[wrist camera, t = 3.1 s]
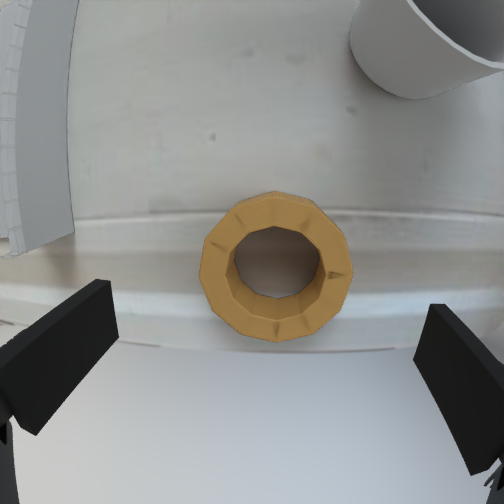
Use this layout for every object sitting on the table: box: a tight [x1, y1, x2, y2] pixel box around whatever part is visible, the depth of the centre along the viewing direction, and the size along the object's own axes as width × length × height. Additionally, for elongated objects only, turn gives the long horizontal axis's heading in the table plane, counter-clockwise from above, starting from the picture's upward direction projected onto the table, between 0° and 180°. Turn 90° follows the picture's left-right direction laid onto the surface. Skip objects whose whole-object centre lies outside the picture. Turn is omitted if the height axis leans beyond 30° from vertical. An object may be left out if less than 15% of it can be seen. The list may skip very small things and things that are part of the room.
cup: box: [349, 0, 504, 99], centre depth 10 cm, size 7×10×9 cm
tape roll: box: [199, 191, 353, 342], centre depth 18 cm, size 8×8×3 cm
